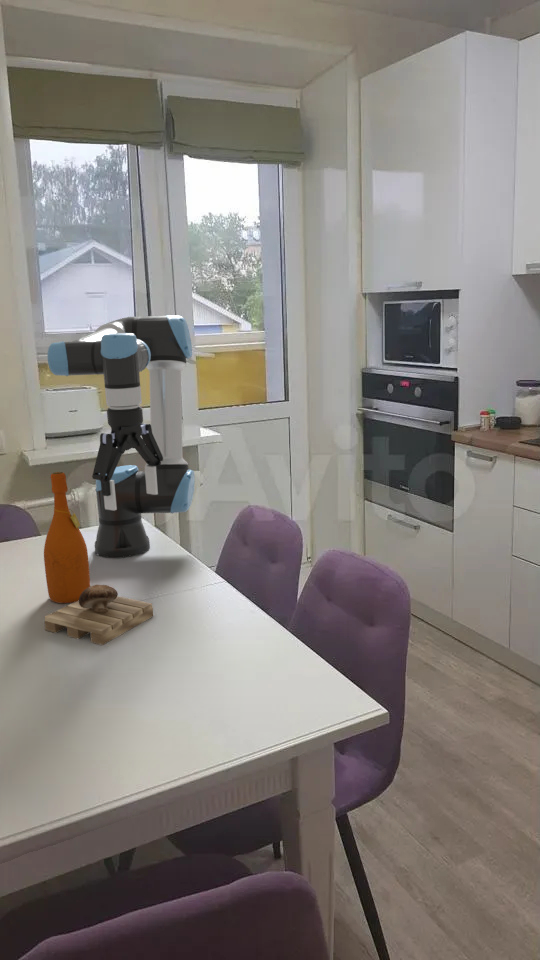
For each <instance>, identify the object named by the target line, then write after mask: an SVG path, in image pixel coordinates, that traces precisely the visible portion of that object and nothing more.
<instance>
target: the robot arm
mask: <svg viewBox="0 0 540 960" xmlns="http://www.w3.org/2000/svg"><path fill="white" fill-rule="evenodd" d="M192 348H193V346H192V340H191V334H190V329H189V325H188V323H187V321H186V319H185V318H184V317H183V316H181V315H170V314H166V315H165V314H163V315H162V314H161V315H146V316H145V315H144V316H128V317H123V318H122V317H121V318H119V319H115V320H113V321H109V322H107V323H105V324H102V325H100V326H99V327H97V329H96V330H95V331H94V332H93V333H90V334H89V335H88V334H87V335H84V336H82V337H81V338H78V339H75V340H72V341H64V340H63V341H58V342H52V343H51V344H49V346H48V349H47V364H48V365H47V366H48V368H49V371H50V372H51V373H52V374H53V375H55V376H65V377H68V376H87V375H88V376H89V375H90V376H91V375H97V376H99V375H103V381H104V390H105V391H104V392H105V403H106V406H107V407H108V408H107V409H106V417H107V424H108V426H109V427H110V428H111V429H110V433H105V432H104V433H100V435H99V447H98V452H97V456H96V461H95V464H94V468H93V472H92V476H91V477H92V479H93V480H95V493H96V502H97V503H96V504H97V506H96V507H97V514H98V528H97V532H96V533H97V534H96V538H95V539H96V540H95V541H94V553H95V555H98V556H99V557H104V558H109V559H111V558H112V559H114V558H115V559H116V558H117V559H118V558H128V557H132V556H133V557H134V556H137V555H141V554H144V553H145V552H147V551H149V550H150V549H151V546H150V545H151V544H150V537H149V535H147V531H146V529H145V526H144V523H143V520H142V514H175V513H185V512H187V511H189V509H190V507H191V505H192V502H193V497H194V493H195V492H194V491H195V482H196V481H195V471H194V470H192V469H189V463H188V462H187V460H185V458H184V457H183V454H184V453H183V452H184V451H183V414H182V413H183V411H182V410H183V407H182V402H183V401H182V370H183V369H185V368H186V366H187V359H191V358H192V356H193V349H192ZM146 369H147V371H148V372H149V403H150V404H149V408H150V409H149V410H150V423H145V422H144V416H143V414H144V413H143V407H142V406H141V405H142V404H143V399H142V389H141V380H140V378H141V377H140V372H142V371H144V370H146ZM131 449H135V451H136V452H137V453H138V455H140V457H141V458H142V459H143V461H144V462H145V466H144V470H142V471H141V470H140V471H139V468H138V466H137V465H135V464H133V465H132V464H128V465H127V464H126V465H121V466H118V463H119V461H120V459H121V458H122V456H123V454H124V453H125V452H126V451H127V452H128V451H129V450H131Z"/></svg>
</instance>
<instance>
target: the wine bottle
mask: <svg viewBox="0 0 540 960" xmlns="http://www.w3.org/2000/svg"><path fill="white" fill-rule="evenodd" d="M50 481H51V492H52V493H53V495H54V497H53V500H54V502H53V503H54V504H53V505H54V506H53V515H52V519H51V522H50V525H49V528H48V532H47V534H46V538H45V542H44V546H43V547H44V548H43V561H44V563H43V564H44V570H45V571H44V572H45V573H44V574H45V580H46V586H47V593H48V597H49V599H50V600H51V601H52V602H53V603H56V604H72V603H74V602H76V601H77V602H78V600H79V597H80V595H81V593H82V592H83V591H84V590H85V589H87V588H88V587H90V586H91V577H90V561H89V555H88V548H87V544H86V543H87V542H86V541H85V539H84V537H83V534H82V532H81V530H80V528H79V527H80V526H81V524H80V522H79V521H80V520H79V519H78V517H77V515H76V513H75V512H74V511H73V510H71V508H69V504H68V499H67V492H68V490H69V488H68V484H67V475H66V473H65V472H63V471H55V472H53V473H51V475H50ZM71 512H72V513H73V514H71Z"/></svg>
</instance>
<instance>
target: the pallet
mask: <svg viewBox="0 0 540 960" xmlns="http://www.w3.org/2000/svg"><path fill="white" fill-rule="evenodd" d="M107 609H108V612H97V611H94V610H93V608H83V607H81V606H80V605H79V600H78V601H76V602H73V603H69V604H68V605H66V606H64V607H62V608H60V609H57V610H55V611H53V612H51V613H49V614H47V615H45V616H44V628H45V629H44V630H45V631H47V632H51V633H55V634H56V633H58V632H60V631H62V630H64V629H66V632H67V637H69V638H74V639H81V638H83V637H85V636H87V635H88V634H90V635H89V636H90V642H91V643H93V644H96V645H100V646H104V645H105V644H107V643H109V642H110V641H113V640H115V639H116V638H117V637H119V636H121V635H123V634H124V633H126V632H128V631H130V630H131V629H134V628H135V627H138V626H139V625H140V624H142V623H144V622H145V621H147V620H149V619H151V618H153V617H154V607H153V603H151V602H147V601H142V600H139V599H138V600H137V599H132V598H129V597H128V598H127V597H124V596H119V595H117V597H116V599H115V600H114V601H112V602H110V603H108V605H107Z"/></svg>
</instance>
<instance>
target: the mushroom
mask: <svg viewBox="0 0 540 960" xmlns="http://www.w3.org/2000/svg"><path fill="white" fill-rule="evenodd" d="M117 596H119V595H118V591H117V589H115V588H114V587H113V586H111V585H110V586H109V585H107V584H94V585H93V584H92V585H90V587H88V588H87V589H85V590H84V591H83V592H82V593H81V595H80V597H79V605H80V606H81V607H83V608H93V610H94V611H97V612H108V609H107V605H108V603H110V602H112V601H114V600H115V599H116V597H117Z"/></svg>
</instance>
